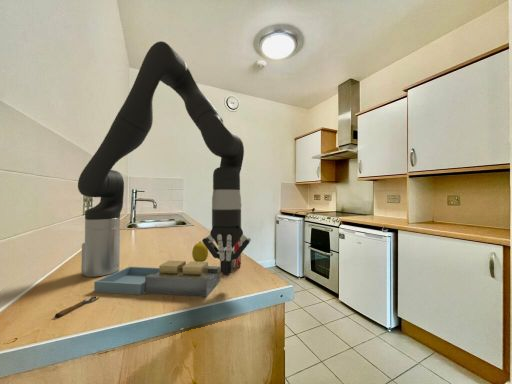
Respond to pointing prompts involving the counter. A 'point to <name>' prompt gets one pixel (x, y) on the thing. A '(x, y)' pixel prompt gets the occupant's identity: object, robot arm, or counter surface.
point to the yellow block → (195, 269)
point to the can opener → (75, 307)
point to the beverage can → (238, 261)
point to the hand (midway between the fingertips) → (226, 274)
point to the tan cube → (172, 268)
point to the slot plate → (183, 283)
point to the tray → (125, 281)
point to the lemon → (200, 252)
